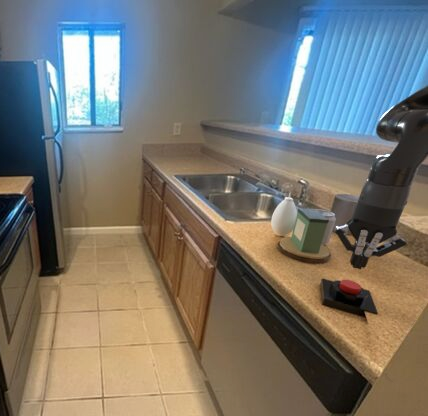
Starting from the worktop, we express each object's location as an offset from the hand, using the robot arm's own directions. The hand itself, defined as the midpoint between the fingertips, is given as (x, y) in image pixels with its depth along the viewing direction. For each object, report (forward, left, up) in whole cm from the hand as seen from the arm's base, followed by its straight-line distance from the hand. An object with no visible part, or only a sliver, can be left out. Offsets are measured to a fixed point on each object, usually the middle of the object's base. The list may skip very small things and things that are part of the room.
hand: (356, 266), depth 68 cm
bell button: (0, 0, -7) cm, 7 cm away
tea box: (+9, -24, -9) cm, 27 cm away
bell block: (0, 0, -10) cm, 10 cm away
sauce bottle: (+16, -35, -11) cm, 40 cm away
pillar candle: (-4, -53, -11) cm, 54 cm away
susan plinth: (+9, -24, -10) cm, 27 cm away
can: (+5, -35, -11) cm, 37 cm away
